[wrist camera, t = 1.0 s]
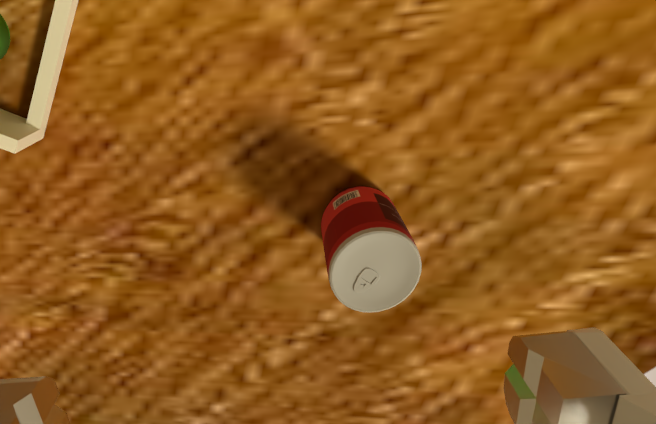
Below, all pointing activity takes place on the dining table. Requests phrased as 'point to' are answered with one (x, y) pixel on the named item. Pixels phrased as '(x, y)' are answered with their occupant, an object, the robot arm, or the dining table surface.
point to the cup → (4, 37)
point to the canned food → (368, 250)
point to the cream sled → (40, 84)
